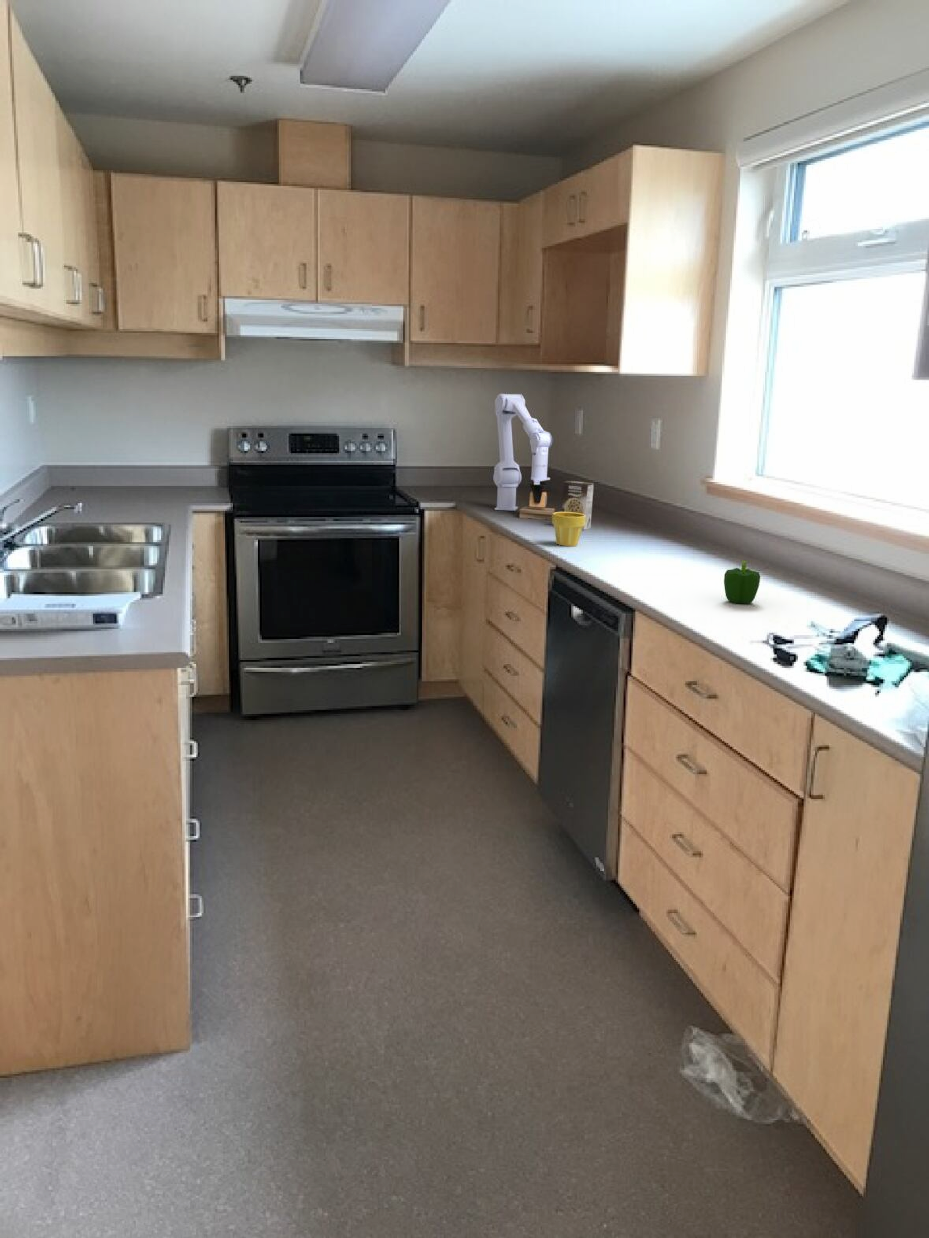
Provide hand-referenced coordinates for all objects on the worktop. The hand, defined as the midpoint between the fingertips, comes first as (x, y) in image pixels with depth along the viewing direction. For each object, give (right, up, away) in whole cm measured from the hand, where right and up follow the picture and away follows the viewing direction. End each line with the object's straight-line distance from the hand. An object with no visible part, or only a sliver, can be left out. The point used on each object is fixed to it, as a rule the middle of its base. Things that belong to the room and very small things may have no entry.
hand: (537, 502), depth 372 cm
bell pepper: (+40, -40, -127) cm, 139 cm away
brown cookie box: (+12, -12, -20) cm, 26 cm away
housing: (0, -1, 0) cm, 1 cm away
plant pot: (+5, -20, -55) cm, 59 cm away
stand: (0, -5, +1) cm, 6 cm away
